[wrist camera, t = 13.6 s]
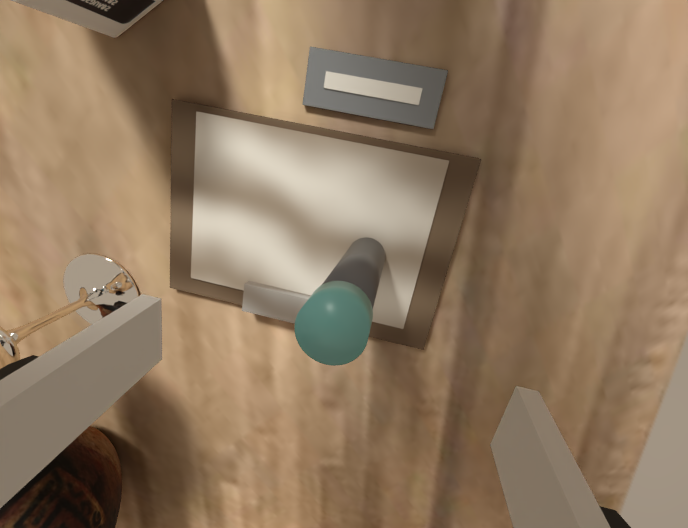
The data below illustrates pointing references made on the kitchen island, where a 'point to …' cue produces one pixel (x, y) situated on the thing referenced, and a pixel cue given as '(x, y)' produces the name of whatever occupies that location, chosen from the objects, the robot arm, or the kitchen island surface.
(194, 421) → the kitchen island surface
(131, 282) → the wineglass
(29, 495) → the ceramic vessel
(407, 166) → the clipboard
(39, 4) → the container
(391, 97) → the plate
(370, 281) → the marker
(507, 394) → the kitchen island surface
